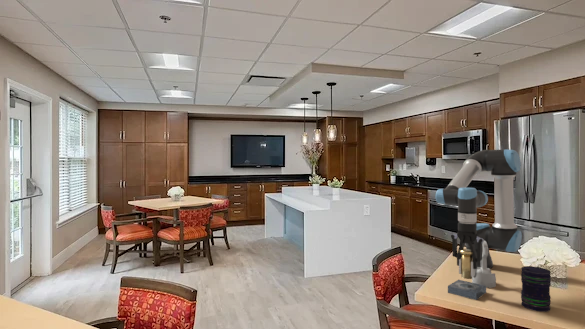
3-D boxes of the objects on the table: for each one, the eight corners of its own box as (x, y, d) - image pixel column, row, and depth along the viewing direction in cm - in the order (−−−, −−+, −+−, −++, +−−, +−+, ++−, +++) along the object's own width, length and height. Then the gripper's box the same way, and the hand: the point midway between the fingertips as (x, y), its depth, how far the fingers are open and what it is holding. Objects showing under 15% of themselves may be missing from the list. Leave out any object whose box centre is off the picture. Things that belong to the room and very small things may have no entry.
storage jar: (543, 302, 147) (544, 267, 147) (555, 312, 138) (555, 274, 137) (517, 300, 149) (517, 265, 149) (526, 310, 140) (526, 272, 140)
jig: (458, 285, 167) (458, 279, 167) (486, 292, 159) (486, 286, 159) (447, 292, 159) (447, 285, 159) (476, 300, 150) (476, 293, 150)
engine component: (475, 286, 166) (499, 288, 164) (475, 243, 166) (499, 244, 164) (469, 279, 177) (491, 280, 175) (469, 238, 177) (491, 238, 175)
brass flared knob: (457, 277, 159) (457, 250, 159) (462, 274, 163) (462, 248, 163) (471, 280, 154) (471, 253, 154) (476, 277, 158) (476, 250, 158)
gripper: (444, 220, 162) (443, 272, 162) (485, 226, 149) (485, 281, 150) (450, 219, 167) (450, 268, 167) (491, 223, 155) (491, 277, 155)
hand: (466, 274), depth 159 cm, fingers closed on brass flared knob, 4 cm apart
